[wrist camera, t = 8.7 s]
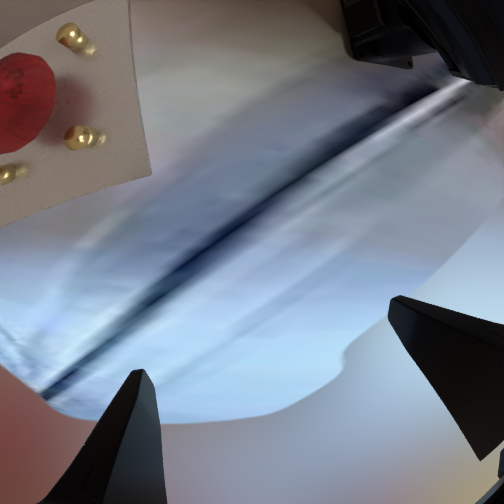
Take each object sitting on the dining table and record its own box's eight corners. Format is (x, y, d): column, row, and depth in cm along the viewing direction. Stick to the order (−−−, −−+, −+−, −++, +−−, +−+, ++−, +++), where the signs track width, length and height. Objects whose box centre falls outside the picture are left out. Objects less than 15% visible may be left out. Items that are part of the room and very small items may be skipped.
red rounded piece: (29, 60, 10) (-37, 35, 3) (89, 75, 12) (31, 39, 5) (-1, 138, 11) (-76, 150, 4) (54, 159, 14) (-19, 178, 6)
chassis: (129, -4, 11) (121, -27, 8) (152, 173, 17) (145, 180, 14) (-22, 71, 9) (-45, 66, 6) (-1, 227, 15) (-25, 243, 11)
